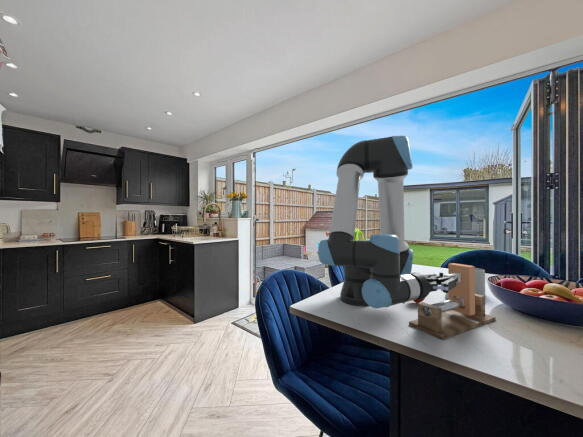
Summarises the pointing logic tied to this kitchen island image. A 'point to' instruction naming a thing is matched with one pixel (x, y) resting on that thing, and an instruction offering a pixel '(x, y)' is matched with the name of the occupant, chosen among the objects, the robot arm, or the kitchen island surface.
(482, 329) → the kitchen island surface
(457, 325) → the rig board
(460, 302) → the pipe
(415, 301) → the onion
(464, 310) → the upright wooden plank
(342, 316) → the kitchen island surface
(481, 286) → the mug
